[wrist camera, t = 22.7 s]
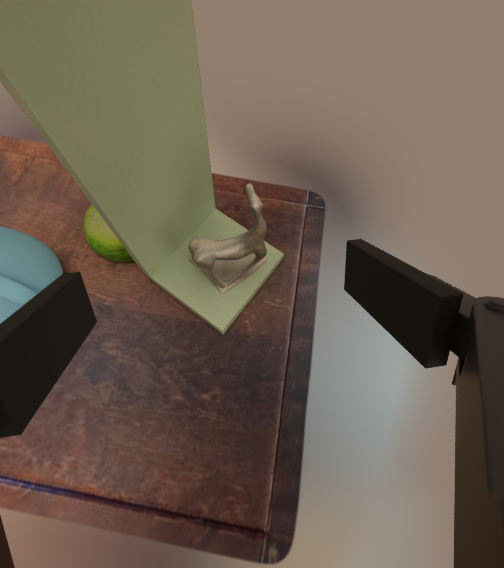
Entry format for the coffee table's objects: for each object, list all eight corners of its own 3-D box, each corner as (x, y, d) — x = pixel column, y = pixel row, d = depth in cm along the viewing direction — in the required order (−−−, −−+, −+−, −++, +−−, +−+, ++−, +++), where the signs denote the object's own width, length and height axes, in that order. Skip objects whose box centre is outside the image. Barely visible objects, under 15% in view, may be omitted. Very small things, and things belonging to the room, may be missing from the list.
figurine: (181, 289, 39) (149, 227, 25) (190, 246, 41) (165, 168, 27) (262, 298, 39) (277, 242, 25) (267, 255, 41) (282, 182, 27)
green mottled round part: (157, 192, 47) (148, 169, 42) (177, 248, 43) (170, 230, 39) (84, 213, 45) (66, 192, 40) (99, 274, 41) (81, 258, 37)
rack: (281, 259, 43) (548, -575, 6) (223, 335, 39) (-89, -1058, 2) (208, 211, 46) (86, -588, 9) (145, 276, 41) (-658, -797, 4)
